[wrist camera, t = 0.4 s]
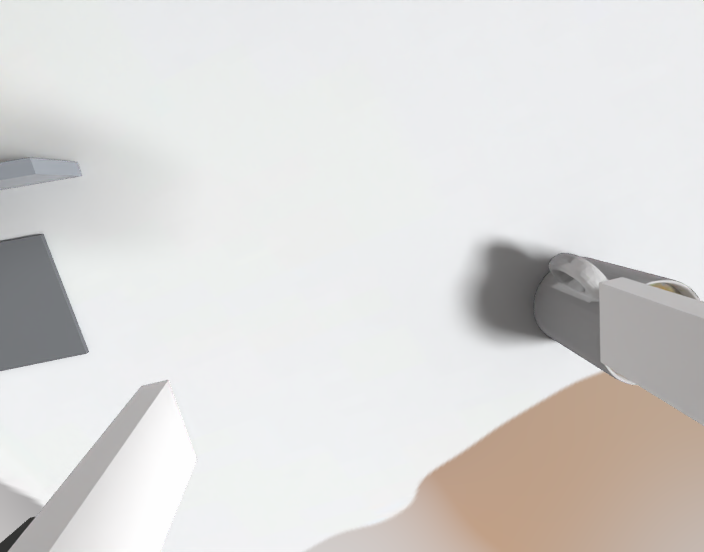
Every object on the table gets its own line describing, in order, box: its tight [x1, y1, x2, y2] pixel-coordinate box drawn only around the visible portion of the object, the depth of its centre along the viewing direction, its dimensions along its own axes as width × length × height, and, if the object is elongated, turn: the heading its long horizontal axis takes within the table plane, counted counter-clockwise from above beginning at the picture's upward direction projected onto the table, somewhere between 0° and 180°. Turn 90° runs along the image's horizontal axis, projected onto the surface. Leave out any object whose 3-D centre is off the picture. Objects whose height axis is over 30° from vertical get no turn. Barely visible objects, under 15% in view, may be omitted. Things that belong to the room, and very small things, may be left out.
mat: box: [0, 234, 89, 371], centre depth 36 cm, size 12×12×1 cm
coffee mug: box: [533, 253, 700, 385], centre depth 37 cm, size 13×10×10 cm
